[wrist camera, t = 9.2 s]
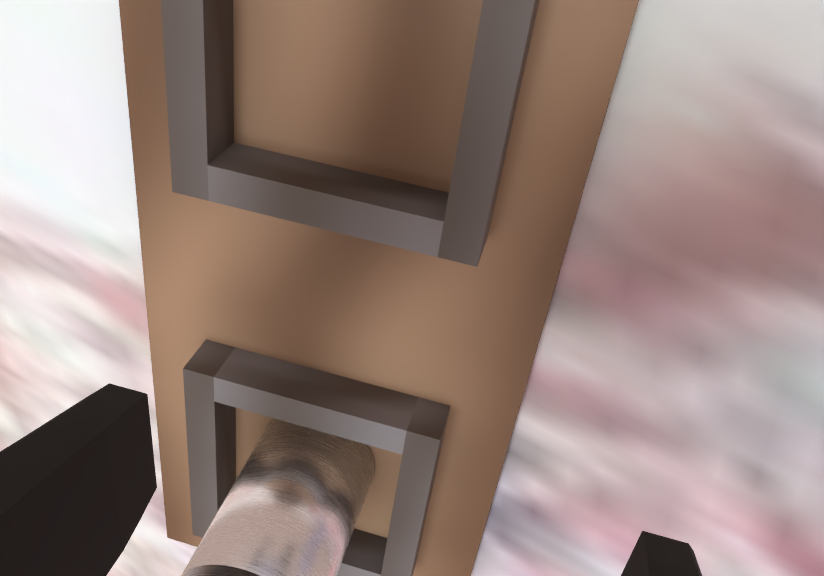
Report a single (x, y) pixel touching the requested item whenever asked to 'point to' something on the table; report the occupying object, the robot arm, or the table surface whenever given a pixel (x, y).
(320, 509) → the metal cylinder
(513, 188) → the dock board
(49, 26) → the table surface
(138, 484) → the robot arm
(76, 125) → the table surface
